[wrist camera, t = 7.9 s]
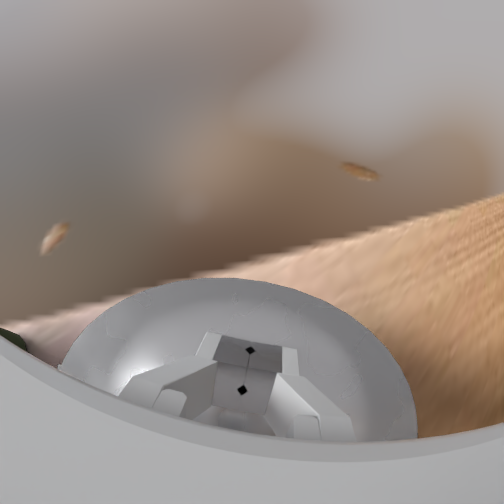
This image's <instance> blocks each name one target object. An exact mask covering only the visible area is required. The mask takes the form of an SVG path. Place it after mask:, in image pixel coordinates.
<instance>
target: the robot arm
mask: <svg viewBox="0 0 504 504" xmlns="http://www.w3.org/2000/svg"><path fill="white" fill-rule="evenodd" d="M251 343H252V344H251ZM239 402H240V404H239ZM211 405H213V406H218V407H223V408H228V409H234V410H239V411H244V412H249V413H254V414H259V415H264V417H265V419H266V420H267V422H268V423H269V425H270V427H271V428H272V430H273V431H274V433H275V435H276V436H269V435H262V434H256V433H250V432H244V431H238V430H233V429H228V428H223V427H218V426H214V425H209V424H205V423H201V422H197V421H193V419H194V418H196V417H197V416H199V415H200V414H201V413H203V412H204V411H206V410H207V409H208V408H210V407H211ZM238 407H239V409H238ZM0 504H504V422H503V423H499V424H495V425H491V426H487V427H483V428H479V429H474V430H469V431H464V432H459V433H454V434H448V435H441V436H434V437H426V438H417V439H406V440H392V441H364V442H356V439H355V435H354V431H353V427H352V423H351V419H350V417H349V416H348V415H346V414H345V413H344V412H343V411H342V410H341V409H340V408H338V407H337V406H336V405H335V404H334V403H333V402H332V401H330V400H329V399H328V398H327V397H326V396H325V395H324V394H323V393H322V392H320V391H319V390H318V389H317V388H316V387H315V386H314V385H313V384H312V383H311V382H310V381H308V380H307V379H306V378H305V377H303V376H300V370H299V360H298V350H297V348H292V347H284V346H277V345H271V344H264V343H258V342H252V341H249V340H244V339H239V338H235V337H231V336H226V335H222V334H218V333H213V332H207V333H206V334H205V336H204V338H203V340H202V342H201V344H200V347H199V349H198V351H197V353H196V355H195V356H193V355H189V356H187V357H184V358H182V359H179V360H176V361H174V362H171V363H168V364H166V365H163V366H160V367H157V368H155V369H152V370H149V371H146V372H143V373H140V374H137V375H135V376H132V378H131V379H130V381H129V382H128V383H127V385H126V386H125V387H124V389H123V390H122V391H121V393H120V394H119V396H116V395H113V394H111V393H108V392H106V391H103V390H101V389H99V388H96V387H94V386H92V385H89V384H87V383H85V382H83V381H81V380H79V379H76V378H74V377H72V376H70V375H68V374H66V373H64V372H62V371H60V370H58V369H56V368H54V367H52V366H51V365H49V364H47V363H45V362H43V361H41V360H40V359H38V358H36V357H34V356H33V355H31V354H29V353H27V352H26V351H24V350H22V349H21V348H19V347H18V346H16V345H14V344H13V343H11V342H10V341H8V340H7V339H5V338H4V337H2V336H1V335H0Z"/></svg>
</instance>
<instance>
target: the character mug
mask: <svg viewBox="0 0 504 504" xmlns="http://www.w3.org/2000/svg"><path fill="white" fill-rule="evenodd" d="M0 335H1V336H2V337H4V338H5V339H7V340H8V341H10V342H11V343H13V344H14V345H16V346H18V347H19V348H21V349H22V350H24V351H26V346H25V342H24V341H23V339H22V338H21V337H20V335H18V334H15V333H13V332H10V331H8V330H5V329H2V328H0Z"/></svg>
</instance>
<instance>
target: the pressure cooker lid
mask: <svg viewBox="0 0 504 504" xmlns="http://www.w3.org/2000/svg"><path fill="white" fill-rule="evenodd" d="M207 332H213V333H218V334H222V335H226V336H231V337H235V338H239V339H244V340H249V341H252V342H258V343H264V344H271V345H277V346H284V347H292V348H297V350H298V360H299V370H300V376H303V377H305V378H306V379H307V380H308V381H310V382H311V383H312V384H313V385H314V386H315V387H316V388H317V389H318V390H319V391H320V392H322V393H323V394H324V395H325V396H326V397H327V398H328V399H329V400H330V401H332V402H333V403H334V404H335V405H336V406H337V407H338V408H340V409H341V410H342V411H343V412H344V413H345V414H346V415H348V416H349V417H350V419H351V423H352V427H353V431H354V435H355V439H356V442H364V441H392V440H406V439H417V429H418V426H417V416H416V407H415V403H414V400H413V396H412V393H411V389H410V386H409V384H408V382H407V380H406V378H405V376H404V374H403V372H402V370H401V368H400V366H399V365H398V363H397V362H396V360H395V359H394V358H393V356H392V355H391V353H390V352H389V351H388V349H387V348H386V347H385V346H384V345H383V344H382V343H381V342H380V341H379V340H378V339H377V338H376V337H375V336H374V335H373V334H372V333H371V332H370V330H368V329H367V328H366V327H364V326H363V325H362V324H360V323H359V322H358V321H356V320H355V319H354V318H352V317H351V316H350V315H348V314H347V313H345V312H343V311H341V310H340V309H338V308H336V307H334V306H332V305H331V304H329V303H327V302H325V301H323V300H321V299H318V298H316V297H313V296H311V295H308V294H306V293H303V292H301V291H298V290H295V289H292V288H288V287H284V286H280V285H276V284H272V283H268V282H262V281H254V280H246V279H239V278H201V279H193V280H185V281H177V282H173V283H169V284H165V285H161V286H158V287H154V288H150V289H147V290H145V291H143V292H140V293H138V294H135V295H133V296H131V297H128V298H126V299H124V300H122V301H121V302H119V303H118V304H116V305H114V306H113V307H111V308H109V309H108V310H106V311H105V312H103V313H102V314H101V315H100V316H99V317H97V318H96V319H95V320H94V321H93V322H92V323H90V324H89V325H88V326H87V327H86V328H85V330H84V331H83V332H82V333H81V334H80V336H79V337H78V338H77V339H76V340H75V341H74V343H73V345H72V346H71V348H70V350H69V351H68V353H67V355H66V356H65V358H64V360H63V363H62V365H61V368H60V371H62V372H64V373H66V374H68V375H70V376H72V377H74V378H76V379H79V380H81V381H83V382H85V383H87V384H89V385H92V386H94V387H96V388H99V389H101V390H103V391H106V392H108V393H111V394H113V395H116V396H119V394H120V393H121V391H122V390H123V389H124V387H125V386H126V385H127V383H128V382H129V381H130V379H131V378H132V376H135V375H137V374H140V373H143V372H146V371H149V370H152V369H155V368H157V367H160V366H163V365H166V364H168V363H171V362H174V361H176V360H179V359H182V358H184V357H187V356H189V355H193V356H195V355H196V353H197V351H198V349H199V347H200V344H201V342H202V340H203V338H204V336H205V334H206V333H207ZM251 344H252V343H251ZM239 404H240V402H239ZM238 409H239V407H238ZM193 421H197V422H201V423H205V424H209V425H214V426H218V427H223V428H228V429H233V430H238V431H244V432H250V433H256V434H262V435H269V436H276V435H275V433H274V431H273V430H272V428H271V427H270V425H269V423H268V422H267V420H266V419H265V417H264V415H259V414H254V413H249V412H244V411H239V410H234V409H228V408H223V407H218V406H213V405H211V407H210V408H208V409H207V410H206V411H204V412H203V413H201V414H200V415H199V416H197V417H196V418H194V419H193Z"/></svg>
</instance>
